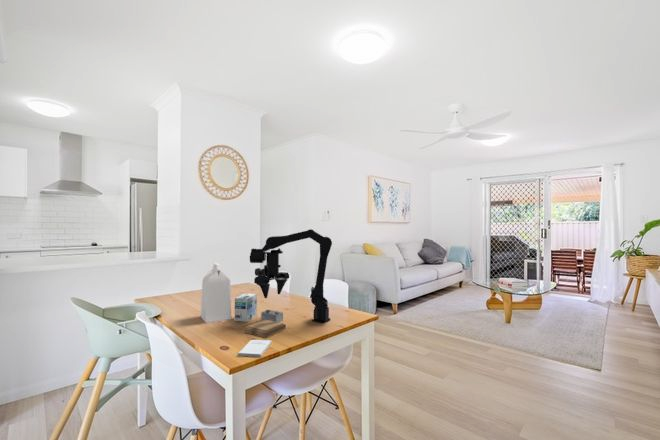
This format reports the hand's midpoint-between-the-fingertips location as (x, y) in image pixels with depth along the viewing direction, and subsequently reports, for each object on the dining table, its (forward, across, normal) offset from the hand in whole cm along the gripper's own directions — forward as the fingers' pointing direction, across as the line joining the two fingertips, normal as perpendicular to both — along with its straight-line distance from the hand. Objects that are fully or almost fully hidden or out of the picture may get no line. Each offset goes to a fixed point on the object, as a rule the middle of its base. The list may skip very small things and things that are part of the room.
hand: (272, 296), depth 139 cm
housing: (+12, 0, 0) cm, 12 cm away
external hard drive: (+12, +28, +17) cm, 35 cm away
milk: (+12, +11, -26) cm, 31 cm away
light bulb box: (+12, +4, -13) cm, 18 cm away
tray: (+11, +12, +7) cm, 18 cm away
